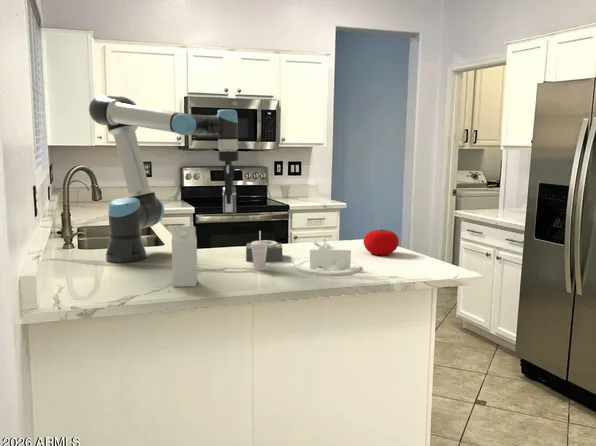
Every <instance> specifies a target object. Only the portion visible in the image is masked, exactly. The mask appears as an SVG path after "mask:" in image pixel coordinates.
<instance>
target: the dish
mask: <svg viewBox="0 0 596 446" xmlns="http://www.w3.org/2000/svg"><path fill="white" fill-rule="evenodd" d="M311 242H312V243H313V245H314V246H315V247H313V248H311V249H309V258H304V259H300V260H297V261H295V262H293V263H292V264H293V265H292V269H293V270H294V271H295V272H298V273H302V274H305V275H306V274H307V275H313V276H324V277H325V276H326V277H328V276H329V277H330V276H332V277H333V276H345V275H351V274H354V273H357V272H358V271H360V270H361V264H360V263H358V262H356V261H354V260H352V249H345V248H338V247H336V246H335V247H334V246H331V245H330V244H329V243H328V242H327V239H326V237H325V236H324V235H322V242H320V243H319V241H317V239H313V240H312V241H311Z"/></svg>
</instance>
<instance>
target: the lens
mask: <svg viewBox="0 0 596 446" xmlns="http://www.w3.org/2000/svg"><path fill="white" fill-rule="evenodd" d="M236 189H237V188H236V186H233V187H232V202H233V212H225V195H223V193H225V186H223V187H222V214H226V215H227V214H228V215H231V214H236V213H237V192H236V191H237V190H236Z"/></svg>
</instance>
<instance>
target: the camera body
mask: <svg viewBox="0 0 596 446" xmlns="http://www.w3.org/2000/svg"><path fill="white" fill-rule="evenodd" d="M250 242H251V243H252V242H259V240H254V241H250ZM250 242H247V243H246V247H245V260H246V262H253V255H252V247H251V243H250ZM261 242H267V243H268V247H267V254H266V262H283V245H282V244H283V243H282V242H277V241H275V240H267V239H265V240H262V239H261Z"/></svg>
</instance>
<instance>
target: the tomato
mask: <svg viewBox="0 0 596 446" xmlns="http://www.w3.org/2000/svg"><path fill="white" fill-rule="evenodd" d="M399 243H400V240H399V237H398V235H397V234H396V233H395V232H393V231H391V230H389V229H388V230H387V229H382V228H381V229H375V230H370V231H369V232H367V233H366V234H365V236H364V238H363V245H364V248H365V250H367V251H368V252H369V253H370V254H371V255H375V256H387V255H388V256H389V255H390V254H392V253H393V252H395V250H396V249H397V248H398V246H399Z"/></svg>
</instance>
